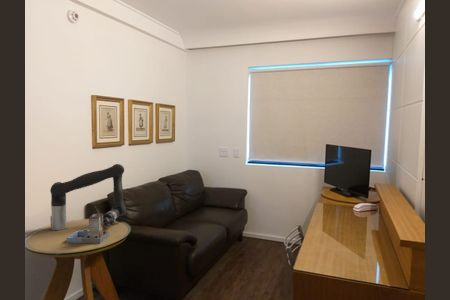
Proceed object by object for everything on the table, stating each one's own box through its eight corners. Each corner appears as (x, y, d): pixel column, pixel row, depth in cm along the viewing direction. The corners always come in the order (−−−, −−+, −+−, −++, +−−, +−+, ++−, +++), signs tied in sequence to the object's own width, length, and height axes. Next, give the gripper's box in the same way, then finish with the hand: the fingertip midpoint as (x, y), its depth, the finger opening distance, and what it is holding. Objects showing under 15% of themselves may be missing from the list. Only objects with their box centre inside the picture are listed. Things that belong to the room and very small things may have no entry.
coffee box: (94, 237, 202) (93, 213, 201) (104, 236, 203) (103, 213, 202) (89, 242, 193) (88, 217, 192) (99, 242, 194) (98, 217, 193)
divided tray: (66, 242, 193) (66, 235, 192) (77, 235, 206) (77, 229, 205) (100, 243, 191) (100, 237, 191) (109, 236, 204) (109, 230, 204)
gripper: (99, 211, 217) (88, 218, 201) (119, 212, 216) (109, 219, 200) (99, 222, 217) (88, 229, 201) (119, 222, 216) (109, 230, 200)
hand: (98, 224), depth 200 cm, fingers open, 8 cm apart
